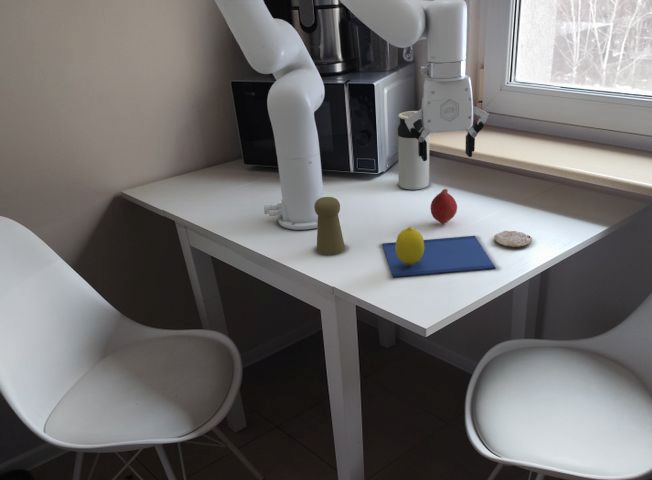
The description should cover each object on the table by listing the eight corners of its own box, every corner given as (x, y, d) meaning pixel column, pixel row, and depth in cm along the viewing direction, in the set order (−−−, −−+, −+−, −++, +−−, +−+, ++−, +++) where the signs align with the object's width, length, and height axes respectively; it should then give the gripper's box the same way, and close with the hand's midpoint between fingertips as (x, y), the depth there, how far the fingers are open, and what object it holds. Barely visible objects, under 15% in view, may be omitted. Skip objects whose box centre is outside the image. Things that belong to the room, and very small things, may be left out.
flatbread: (538, 244, 128) (539, 240, 127) (506, 251, 126) (507, 246, 125) (517, 231, 134) (518, 226, 134) (486, 237, 132) (487, 232, 131)
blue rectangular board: (392, 278, 118) (392, 276, 118) (382, 244, 131) (382, 243, 131) (495, 268, 119) (495, 267, 119) (474, 237, 133) (474, 235, 133)
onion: (439, 230, 137) (440, 195, 132) (425, 222, 141) (425, 188, 137) (461, 225, 139) (462, 190, 135) (447, 217, 143) (447, 183, 139)
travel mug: (409, 192, 159) (408, 119, 149) (393, 184, 165) (391, 113, 155) (435, 186, 162) (435, 114, 152) (418, 178, 168) (417, 109, 158)
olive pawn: (322, 257, 127) (317, 205, 121) (312, 247, 132) (307, 196, 126) (349, 251, 129) (345, 200, 123) (339, 241, 134) (335, 191, 128)
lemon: (422, 272, 119) (422, 233, 114) (393, 271, 120) (392, 232, 115) (425, 260, 123) (426, 222, 119) (398, 259, 124) (397, 221, 120)
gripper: (406, 77, 119) (408, 166, 128) (494, 69, 120) (491, 158, 129) (400, 71, 125) (403, 156, 134) (484, 63, 126) (481, 149, 135)
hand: (446, 157), depth 132 cm, fingers open, 9 cm apart
